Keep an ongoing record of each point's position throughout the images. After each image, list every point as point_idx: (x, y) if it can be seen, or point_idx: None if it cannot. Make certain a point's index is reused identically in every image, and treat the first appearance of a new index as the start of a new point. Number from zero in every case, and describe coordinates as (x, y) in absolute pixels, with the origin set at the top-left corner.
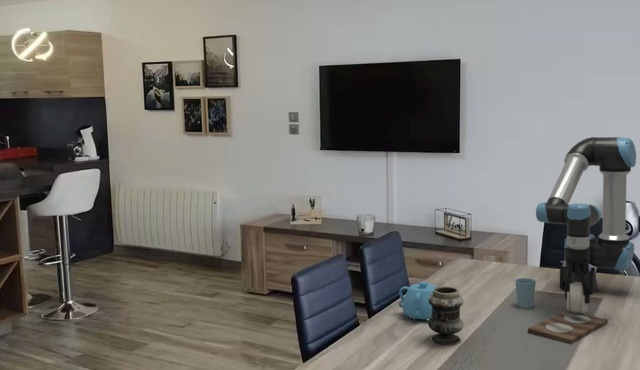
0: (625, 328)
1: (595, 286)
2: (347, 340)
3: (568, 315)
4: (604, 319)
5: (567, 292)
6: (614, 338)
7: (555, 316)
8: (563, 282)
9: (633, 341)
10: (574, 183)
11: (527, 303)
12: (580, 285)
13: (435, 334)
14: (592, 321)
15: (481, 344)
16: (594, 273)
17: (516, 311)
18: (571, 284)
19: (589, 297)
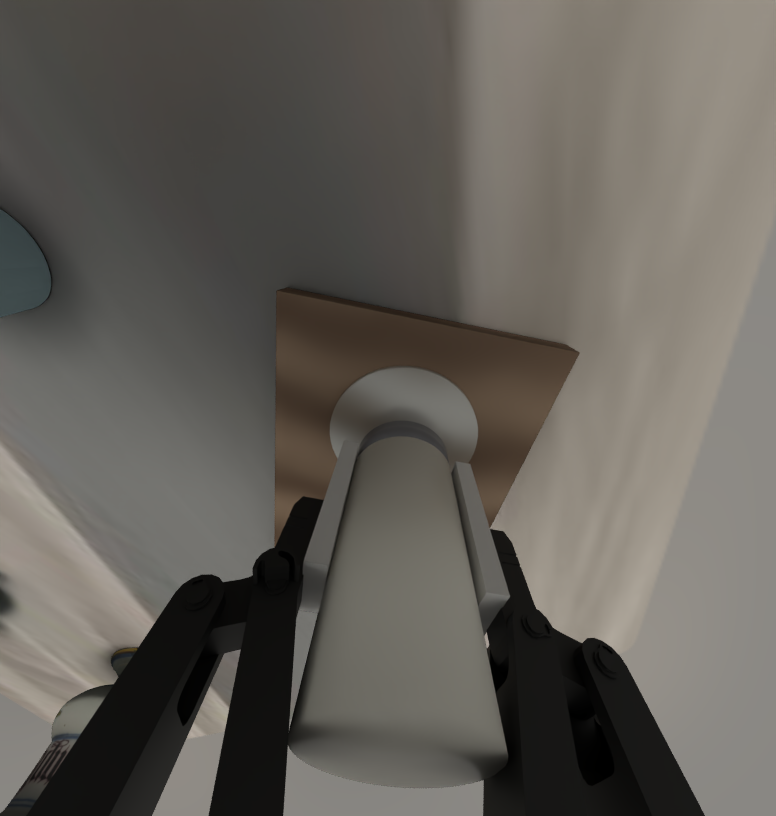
0: (670, 374)
1: (678, 777)
2: (30, 706)
3: (345, 414)
4: (559, 356)
5: (306, 603)
6: (590, 518)
7: (286, 436)
8: (160, 661)
9: (671, 518)
10: None
11: (9, 308)
12: (454, 780)
13: (112, 666)
14: (489, 425)
15: (235, 664)
16: None
17: (60, 384)
18: (334, 773)
19: (522, 591)
